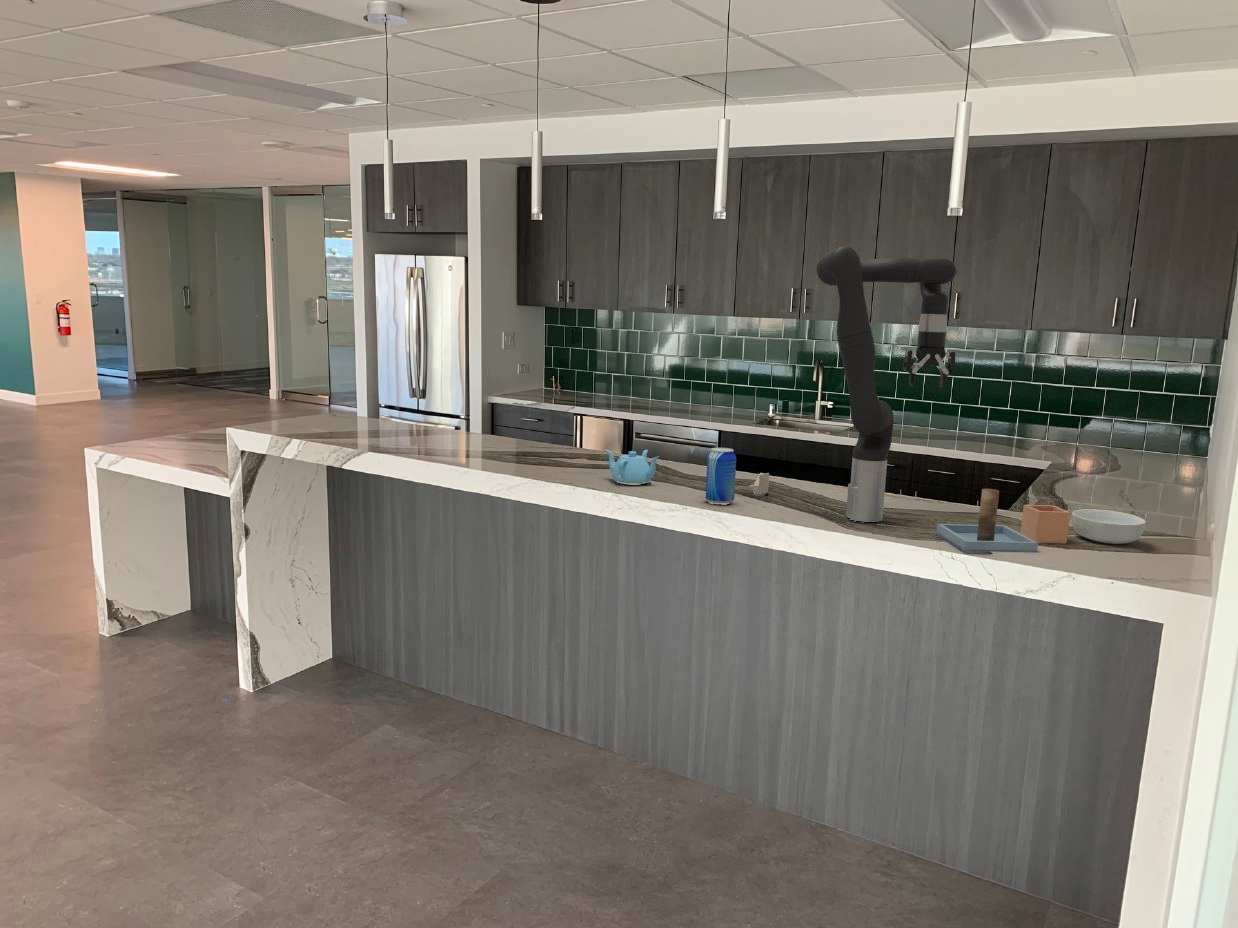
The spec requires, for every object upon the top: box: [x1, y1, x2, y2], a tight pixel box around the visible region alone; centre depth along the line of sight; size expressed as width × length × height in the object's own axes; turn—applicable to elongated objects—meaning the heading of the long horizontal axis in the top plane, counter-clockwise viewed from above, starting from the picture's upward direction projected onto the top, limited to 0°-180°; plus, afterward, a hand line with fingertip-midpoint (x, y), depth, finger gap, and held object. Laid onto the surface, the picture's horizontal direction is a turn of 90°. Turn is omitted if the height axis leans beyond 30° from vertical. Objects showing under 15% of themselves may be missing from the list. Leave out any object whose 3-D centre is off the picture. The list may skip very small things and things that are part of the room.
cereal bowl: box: [1070, 508, 1146, 545], centre depth 240 cm, size 17×17×7 cm
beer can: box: [705, 447, 737, 504], centre depth 272 cm, size 8×8×16 cm
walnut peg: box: [977, 488, 1000, 541], centre depth 233 cm, size 4×4×13 cm
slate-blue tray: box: [935, 523, 1039, 555], centre depth 234 cm, size 18×18×3 cm
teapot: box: [605, 448, 661, 483], centre depth 299 cm, size 15×15×10 cm
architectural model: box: [749, 472, 770, 494], centre depth 286 cm, size 3×7×7 cm, turn 140°
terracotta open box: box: [1020, 504, 1071, 545], centre depth 238 cm, size 8×8×9 cm
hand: (927, 387), depth 267 cm, fingers open, 8 cm apart
